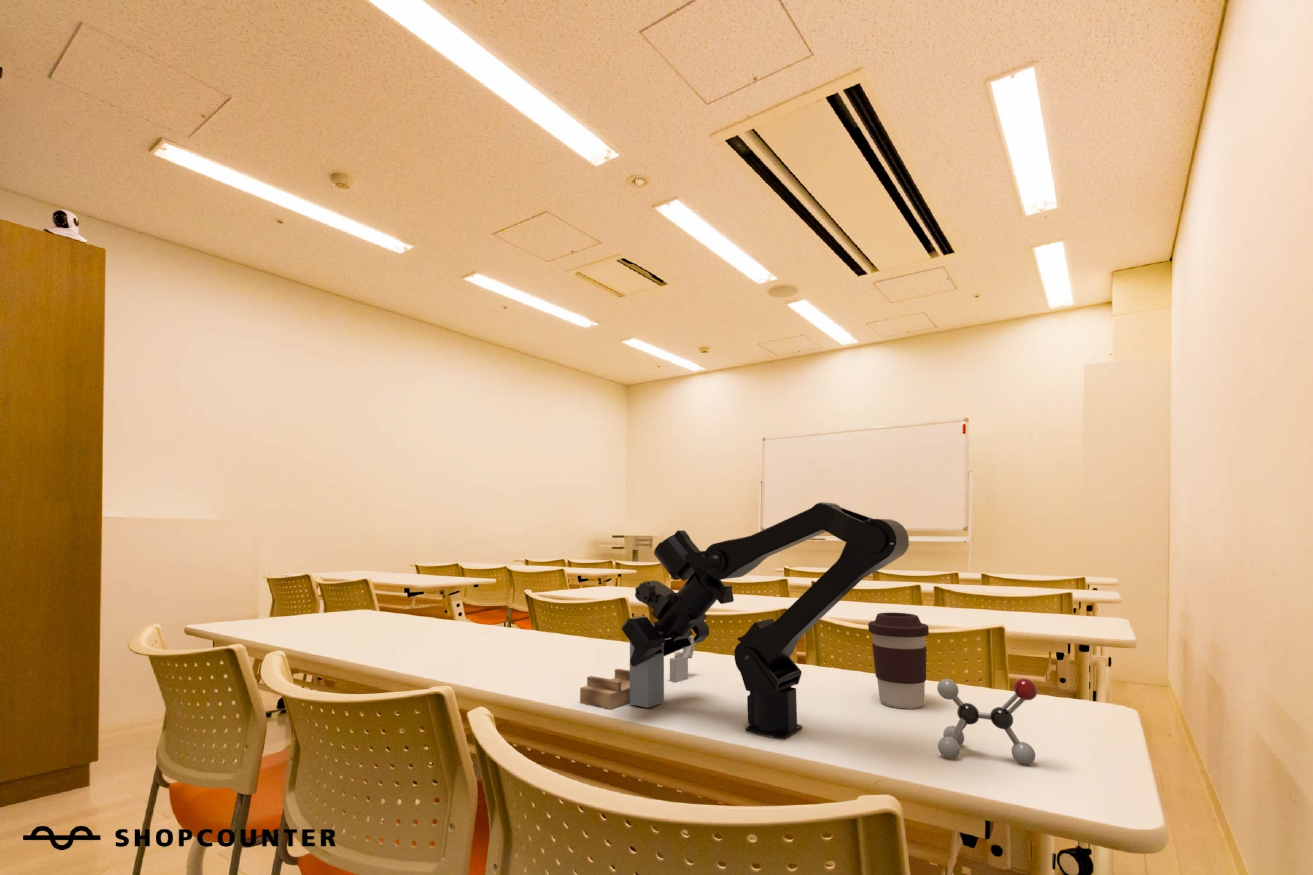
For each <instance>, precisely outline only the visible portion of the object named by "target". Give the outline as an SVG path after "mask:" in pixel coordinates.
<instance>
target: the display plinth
mask: <svg viewBox="0 0 1313 875" xmlns="http://www.w3.org/2000/svg"><path fill="white" fill-rule="evenodd" d="M586 678H587V680H586V685H585V686H582V687H580V688H579V689H580V690H579V691H580V692H579V703H580V704H584V705H588V706H592V705H593V706H592V707H596V708H597V707H598V708H601V707H604V708H603V709H606V708H607V710H613V709H617V708H619V707H623V706H624V705H628V704H630V669H623V668H616V669H614V677H613V678H611V679H610V678H604V677H599V676H594V675H589V676H586ZM616 707H617V708H616Z"/></svg>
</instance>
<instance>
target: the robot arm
mask: <svg viewBox="0 0 1313 875" xmlns="http://www.w3.org/2000/svg"><path fill="white" fill-rule="evenodd" d="M825 533H828V534H830V535H832V536H834V537H836V538H837V539H838V540H840V541H842V542H844V543H845V544H844V546H843V549H842V551H841V553H840V556H839V558H838V559H837V560H836V562H835V563H833V564H832V565H831V566H830V568H828V570H826V571H825V572H824V573H823V574H822V575H821V576H820V577H819V578H818V579H817V580H816V581H815V582H814V583H813V584H812V585H811V586H810V587H809V588H808V589H807V590H806V591H804V593H802V594H801V595H800V597H798V599H797V600H796V601H795V602H793V604H791V605H790V606H789V607H788V608H787V609H786V610H785V611H784V612H783V613H782V614H781V615H780V616H779V617H778V618H777V619H776V620H774V618H773V617H772V618H767V619H763V620H760V621H755V622H754V623H753V624H752V625H750V627H749V629H748V630H747V631H746V632H745V634H743V635H742V636H740V637H738V638H736V639H737V641H738V642H739V643H738V644H736V646H735V648H734V651H733V653H734V662H735V665H736V669H737V670H738V672H739V673H740V675H741V678H742V681H743V685H744V688H745V691H747V692H749V694H748V695H747V697H746V698H747V700H746V701H747V705H746V706H747V708H746V709H747V723H748V725H747V726H745V728H744V730H745V732H748V733H753V734H756V735H762V736H767V737H771V738H775V739H780V740H786V739H787V738H790V736H792V735H794V734H797V733H798V732H799V731H801V730H803V725H802V724H798V712H797V711H798V710H797V706H798V705H797V704H798V703H797V688H796V687H793V686H797V685H798V684H799V683H800V680H801V677H802V673H803V672H802V670H801V668H799V666H798V665H797V664H796V662H794V661H793V660H792V658H791V656H792V654H793V653H794V651H795V649H796V647H797V644H798V643H799V640H800V639H801V637H803V636H804V635H805V634H806V633H807V632H808V631H809V630H810V629H811V628H812V627H813V626H815V624H817V623H818V622H819V621H820V620H821V619H822V618H823V617H825V615H826V614H827V613H828V612H829V611H830V610H832V608H834V606H836V605H837V604H838V603H839V602H840V601H841V600H842V599H844V597H845V596H846V595H847V594H848V593H849V592H851V590H853V588H855V587H856V586H857V585H858V584H859V583H860V582H861V581H862V580H863V579H865V578H866V577H868V576H870V575H872V574H874V573H875V572H877V571H879V570H881V569H883V568H885V567H887V566H888V565H890V564H892V563H893V562H894V561H896V560H897V559H899V558H901V557H903V556H904V555H905V553H906V552H907V551H908V549H909V546H910V541H909V540H910V539H909V538H910V537H909V534H908V532H907V529H906V528H905V526H904V525H903V524H901V523H900V522H899V521H896V520H894V519H891V518H889V519H887V518H871V517H870V516H866V515H863V514H860V513H858V512H854V511H852V510H850V509H846V508H844V507H842V506H840V505H839V504H837V503H834V502H833V503H832V502H823V501H821V502H817V503H816V504H814V505H813V506H812V507H810V508H808V509H806V510H804V511H802V512H800V513H797V514H796V515H794V516H791V517H789V518H787V519H784V520H782V521H780V522H777V523H776V524H773V525H771V526H769V527H767V528H765V529H762V530H760V531H758V532H756V533H753V534H752V535H748V536H744V537H738V538H733V539H732V538H731V539H728V540H724V541H723V540H722V541H720V542H716V543H712V544H710V545H709V546H708V547H707V548H706V550H700V549H699V548H698V546H697V545H696V544H695V543H694V542H693V540H692V539H691V537H690V535H689V534H688V532H686V530H676V532H674V534H672V535H669V536H668V537H667V538H665V539H664V540H663V541H661V542H659V543H658V544H657V546H656V547H655V549H654V552H653V555H654V556H655V558H656V559H657V560H658V561H659V563H660V564H661V566H662V567H663V568H664V569H665V570H666V572H667V573H668V575H669V576H670V577H671V578H672V580H674V581H677V580H681V582H684V584H683V585H682V586H680V589H678V591H677V592H675V590H673V589H671V588H670V587H668V586H667V585H665V584H663V583H662V582H660V581H658V580H648V581H647V580H645V581H642V582H640V583H639V585H638V586H637V587H636V586H635V593H634V596H635V599H637V601H639V603H643V604H644V605H646V606H648V607H649V608H651V609H652V611H651V615H652V616H653V618H654V619H657V621H653V622H651V620H650V619H649V617H648V616H644V615H643V616H641V615H640V616H635V617H634V616H633V617H629V618H628V617H627V619H626V620H625V621H624V623H623V624H622V625H621V630H622V632H623V633H624V635H625V636H626V637H627V639H628V640H629V643H630V642H631V644H632V645H633V647H634V651H633V654H632V657H631V660H630V659H629V664H630V663H631V665H632V666H633V667H634V666H637V665H639V664H641V663H643V662H645V661H647V660H649V659H651V658H653V657H655V656H657V655H659V654H661V653H663V652H662V650H661V649H660V648H661V647H662V644H664V657H666V656H668V655H672V654H674V653H676V652H680V651H681V650H683V648H686V647H689V646H690V645H691V642H690V641H689V639H688V637H690V636H692V635H693V634H694V633H695V636H693V637H694V638H693V641H694V642H695V644H698V643H699V644H700V643H701V642H704V641H705V640H706V639H707V637H708V636H709V635H710V626H709V625H708V624H707V623H706V621H705V620H706V619H707V618H708V616H707V615H706V614H707V612H708V611H709V610H710V608H712V606H713V605H714V604H715V603H716V602H717V601H718V603H719V604H721V605H724V604H729V603H733V602H734V600H735V599H734V594H733V586H732V585H726V584H725V583H724V582H723V581H722V580H729V579H735V578H736V579H738V578H742V577H744V576H746V575H747V574H749V573H750V572H751V571H752V570H755V569H756V568H758V566H760V564H762V563H763V561H765V560H766V559H767V558H769V557H771V556H773V555H776V554H778V553H781V552H783V551H784V550H788V549H790V548H792V547H794V546H796V545H799V544H801V543H804V542H805V541H808V540H810V539H813V538H816V537H818V536H820V535H822V534H825ZM685 581H686V582H685Z"/></svg>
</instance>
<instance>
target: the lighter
mask: <svg viewBox="0 0 1313 875" xmlns="http://www.w3.org/2000/svg"><path fill="white" fill-rule="evenodd" d="M694 637H695V636H692V635H691V636H690V637H688V639H689V641H690V642H691V645H690V646H689V647H686V648H683V649H682V651H676V652H674V653H673V654H674V655H673V656H674V657H671V658H669V681H670V682H672V683H673V682H674V683H678V682H682V681H685V680H688V679H689V659H692V658H693V655H694V651H695V647H696V643H695V642H694V641H693V638H694Z"/></svg>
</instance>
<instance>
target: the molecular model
mask: <svg viewBox="0 0 1313 875" xmlns="http://www.w3.org/2000/svg"><path fill="white" fill-rule="evenodd" d="M936 689H937V692H938V694H939V695H940V697H941V698H942V699H945V700H948V701H950V700H951V701H953V702H954V703H955V704H956V705H957V707H958V708H957V712H956V713H957V716H958V718H959V720H958V721H957V723H956V725H948V726H946V727H945V729H944V730H943V734H942V735H943V737H941V738H940V739H939V741H938V743H937V750H938V751H939V753H940V755H942V757H943V758H945V759H947V760H948V759H949V760H954V759H956V758H958V757H959V755H960V752H961V747H960V746H962V745H963V744H964V741H965V735H964V732H963V731H964V729H965V728H966V727H967V726H968V725H975V724H976V723H978V721H979V720H980V719H981V720H982V719H983V720H989V721H991V723H992V724H993V725H994V726H995V727H996V728H998V729H1001V730H1004V731H1005V733H1006V735H1007V736H1008V738H1009V739H1010V741H1011V742H1012V744H1013V745H1012V747H1011V755H1012V757H1013V759H1014V760H1015V761H1016V762H1017V763H1018V764H1021V765H1024V766H1028V765H1031V764H1032V763H1033V762H1035V760H1036V752H1035V750H1034V748H1033V747H1032V745H1030V744H1029V743H1027V742H1024V741H1020V740H1019V738H1018V737H1017V735H1016V734H1015V732H1014V731H1013V729H1012V728H1011V727H1012V726H1013V723H1014V716H1013V713H1014V712H1015V711H1016V710H1017V709H1018V708H1019V707H1020V706H1022V704H1023V703H1024V702H1026V701H1032V700H1033V699H1035V698H1036V697H1037V695H1038V688H1037V686H1036V684H1035V682H1034V681H1032V680H1030V679H1028V678H1023V677H1021V678H1018V679H1016V681H1015V682H1014V684H1013V691H1014V694H1013V695H1012V696H1011V697H1010V698H1009V699H1008V700H1007V701H1006V702H1005V703H1003V705H1002V706H999V707H998V706H997V707H994V708H993V709H992V710H991V712H982V711H979V709H978V708H977V707H976V706H975V705H974V704H972V703H970V702H963V701H962V700H961V699H960V698H959V696H958V695H959V691H960V690H959V687H958V685H957V683H956V682H955V681H953V680H952V679H950V678H944V679H940V681H939V682H938V683H937V688H936ZM1018 698H1019V699H1018ZM1017 699H1018V700H1017ZM1015 701H1016V702H1015ZM1011 705H1012V706H1011ZM1010 706H1011V707H1010ZM1008 708H1009V709H1008Z"/></svg>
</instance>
